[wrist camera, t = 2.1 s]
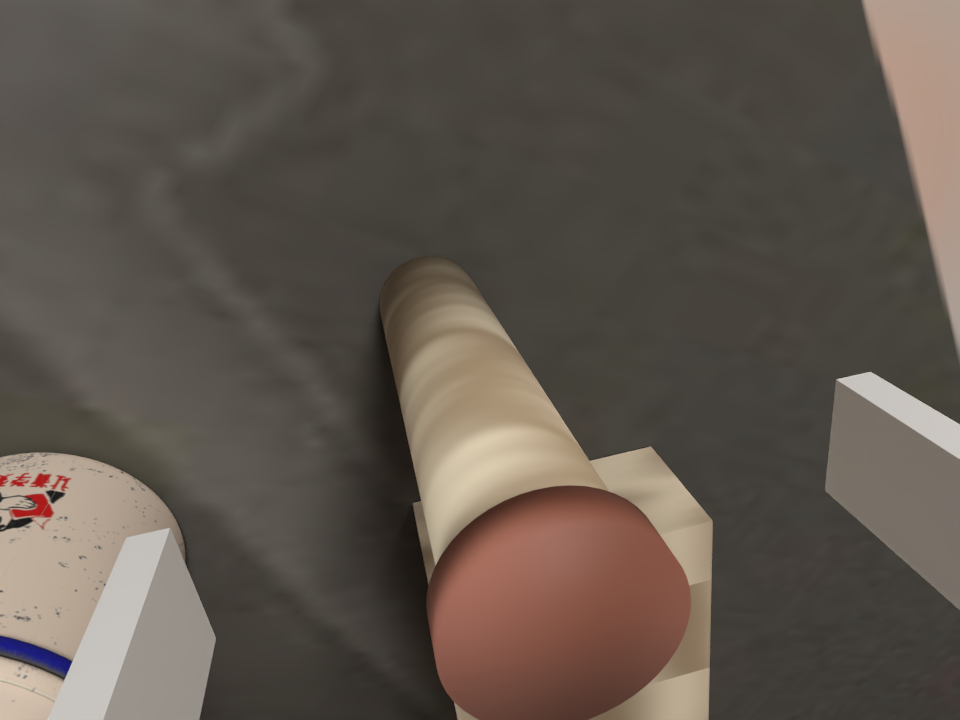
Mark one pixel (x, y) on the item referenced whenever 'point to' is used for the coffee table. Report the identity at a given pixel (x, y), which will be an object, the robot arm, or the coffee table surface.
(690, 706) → the block
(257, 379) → the coffee table surface
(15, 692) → the teacup with lid
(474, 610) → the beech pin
